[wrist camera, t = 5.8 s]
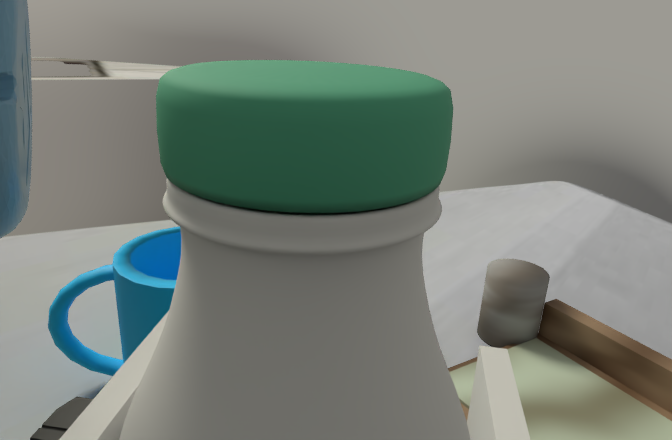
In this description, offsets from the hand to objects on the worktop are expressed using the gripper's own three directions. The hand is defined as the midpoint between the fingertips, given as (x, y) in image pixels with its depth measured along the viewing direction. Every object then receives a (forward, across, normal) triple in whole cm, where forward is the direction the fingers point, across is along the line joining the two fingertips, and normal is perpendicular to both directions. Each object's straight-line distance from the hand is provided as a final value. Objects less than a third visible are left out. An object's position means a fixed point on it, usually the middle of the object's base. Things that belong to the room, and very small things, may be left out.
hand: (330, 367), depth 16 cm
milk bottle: (-5, 0, -11) cm, 12 cm away
